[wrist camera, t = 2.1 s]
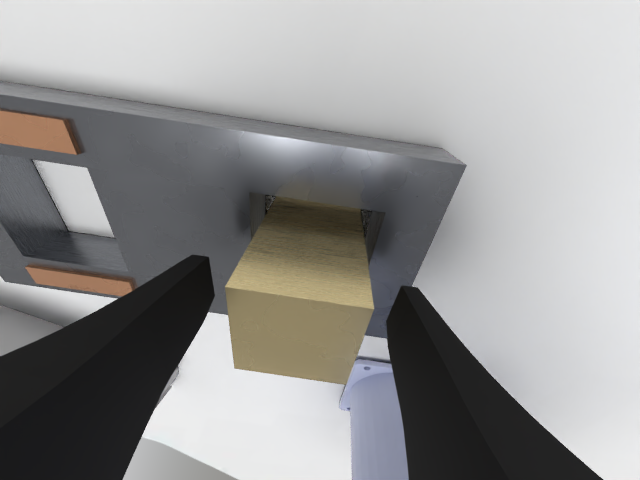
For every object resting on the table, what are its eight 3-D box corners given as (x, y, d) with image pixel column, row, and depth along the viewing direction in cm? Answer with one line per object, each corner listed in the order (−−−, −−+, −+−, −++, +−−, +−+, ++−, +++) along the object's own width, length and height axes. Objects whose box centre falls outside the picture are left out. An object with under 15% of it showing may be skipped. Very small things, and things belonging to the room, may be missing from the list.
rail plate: (442, 148, 11) (469, 166, 8) (381, 305, 16) (388, 341, 14) (-63, 71, 11) (-172, 69, 8) (48, 255, 16) (0, 284, 14)
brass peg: (359, 200, 12) (374, 308, 7) (345, 262, 15) (345, 384, 9) (280, 188, 12) (224, 286, 7) (278, 252, 15) (234, 368, 9)
